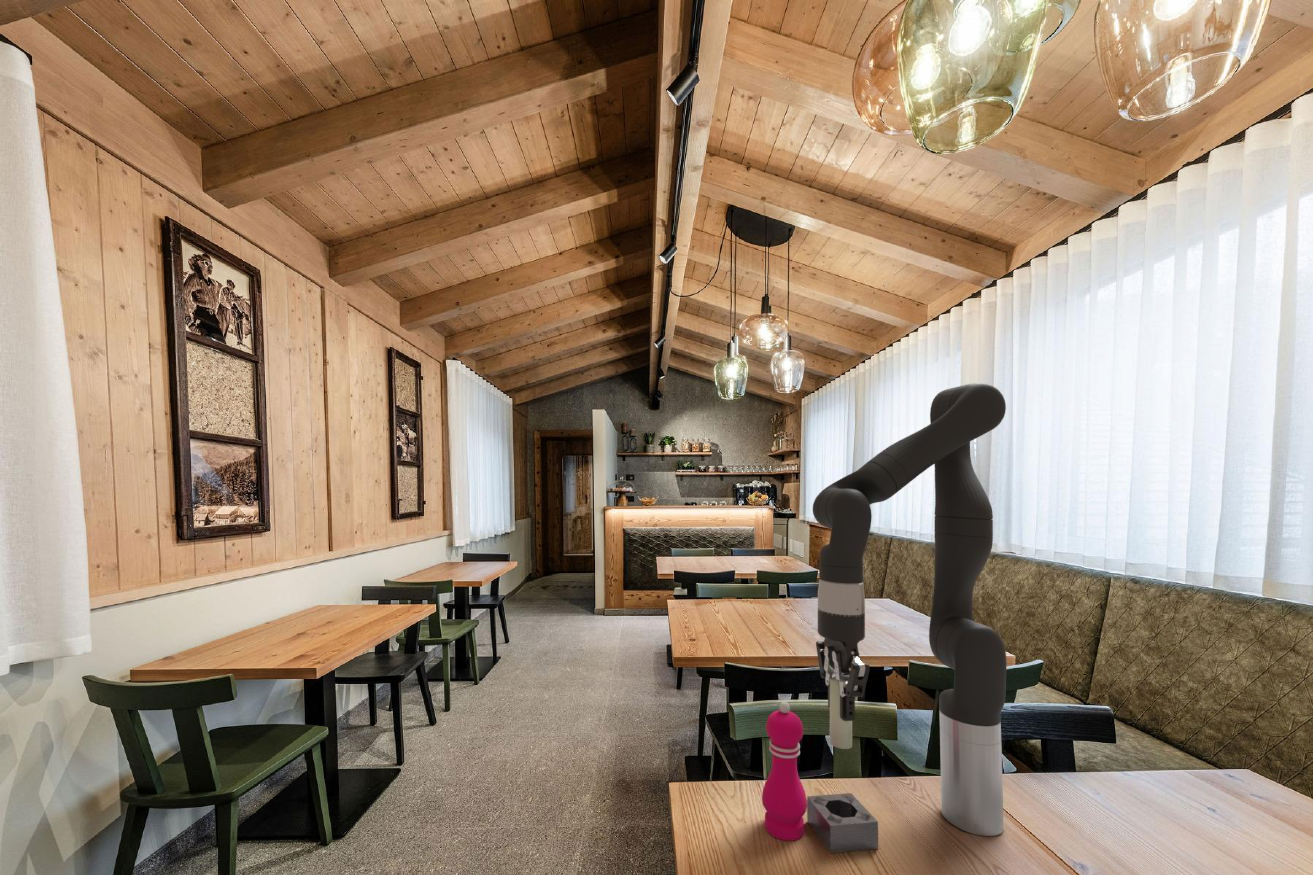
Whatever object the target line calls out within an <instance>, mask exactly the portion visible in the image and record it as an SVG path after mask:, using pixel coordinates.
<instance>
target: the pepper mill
mask: <svg viewBox="0 0 1313 875" xmlns="http://www.w3.org/2000/svg"><path fill="white" fill-rule="evenodd" d="M778 706H779V707H778V710H775V711H773V712H771V713H770V714H769V716H768V717H767V719H766V720H767V721H766V724H765V730H766V733H767V735H768V737H769V738H770V739H769V742H768V743H769V747H768V749H769V752H770V753H771V757H772V758H771V760H772V762H771V763H772V764H771V768H770V772H769V774H768V777H767V779H766V781H765V783H764V786H763V789H762V794H761V802H762V805H763V808H764V810H765V813H764V827H765V830H766V831H767V833H769V835H771V836H772V837H774V838H776V839H778V840H782V841H788V842H789V841H796V840H799V839H800V838H802V837H803V836H804V833H805V820H804V815H805V814H806V813H807V795H806V791H805V788H804V786H803V784H802V781H801V779H800V776H799V774H798V773H799V772H798V765H797V764H798V757H799V756H800V754H801V751H800V750H801V749H800V748H801V745H800V741H801V740H802V739H803V735H804V726H803V722H802V720H801V719H800V717H799V716H798V715H797V714H795V713H794V712H792V711H791V706H790V704H789V703H788V702H786V701H782V702H781V703H780V704H779V705H778Z"/></svg>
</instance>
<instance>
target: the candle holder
mask: <svg viewBox="0 0 1313 875" xmlns="http://www.w3.org/2000/svg"><path fill="white" fill-rule="evenodd" d="M806 799H807V810H806V813H807V815H806V819H807V820H806V822H807V821H808V822H807V823H808V825H809V824H810V825H809V826H810V827H811V829H812V828H813V829H814V830H813V829H812V830H813V832H814V833H815V834H816V836H817V835H818V836H819V837H818V836H817V837H818V838H819V840H820V839H821V840H820V841H821V842H822V844H823V845H824V846H825V848H826V849H827V851H828V853H830V854H839V853H849V852H859V851H868V850H869V851H871V850H878V849H879V821H878V820H877V819H876V818H875V817H874V816H873V814H871V812H870V811H869V810H867V808H866V807H865V806H864V805H863V804H862V803H861V802H860V800H858V799H857V798H856V797H855V795H854V794H853V793H852V792H849V793H848V792H847V793H845V792H844V793H834V794H822V795H809V796H808V795H806Z"/></svg>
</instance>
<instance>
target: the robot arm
mask: <svg viewBox="0 0 1313 875" xmlns="http://www.w3.org/2000/svg"><path fill="white" fill-rule="evenodd" d="M1006 410H1007V406H1006V400H1005V398H1004V395H1003V394H1002V392H1001V391H1000V390H999V389H998V388H997V387H995V386H994V385H992V384H989V383H986V382H985V383H984V382H975V383H967V384H963V385H960V386H955V387H951V388H947V389H944V390H942V391H940V392H938V393H937V394H936V395H935V397H934V398H933V399H932V402H931V405H930V411H929V419H930V423H929V424H928V425H927V426H924V427H923V428H921V429H920V430H917V431H915V432H913V433H912V434H909V435H908V436H905V437H904V438H902V439H900V440H898V441H895V442H894V443H892V444H890V445H889V446H888V447H886V448H885V449H883V450H881V451H880V452H879V453H877V454H876V455H874V456H873V457H872V458H871V459H870V460H868V461H867V462H866V463H864V465H862V466H861V467H860V468H859V469H857V470H855V471H853V472H851V473H850V474H848V475H845V476H844V477H842V478H840V479H838V480H836V481H834V482H833V483H831V484H830V485H828V486H826V487H825V488H824V489H822V490H821V491H820V492H819V493H818V494H817V495H816V497H815V498H814V501H813V504H812V514H813V517H814V519H815V520H816V521H817V523H818V524H820V525H821V526H822V527H825V528H827V529H831V531H830V532H831V533H830V536H829V537H830V538H829V543H827V544H825V545H824V546H823V545H822V547H821V549H820V550H819V559H818V560H819V561H818V562H819V563H818V564H819V566H818V568H819V573H818V575H819V576H818V577H819V578H818V579H819V580H818V588H817V634H818V635H819V636H820V637H821V638H824V639H823V640H822V641H820V640H818V641H816V642H815V648H816V653H817V654H816V655H817V661H818V666H819V672H820V677H821V678H822V679H825V685H826V687H827V708H828V709H829V710H830V678H832V677H836V679H837V680H838V681H839V686H840V694H841V696H840V718H841V719H842V720H843V721H852V722H853V721H854V720H855V718H856V698H860V697H861V698H862V697H864V695H865V690H866V686H867V682H868V678H869V673H870V670H871V666H870V665H869V663H868V662H862V661H861V660H860V652H859V647H858V644H859V642H862V641H863V640H865V638H866V596H865V588H864V560H863V559H864V553H865V551H866V547H867V544H868V540H869V536H870V530H871V524H872V515H873V514H872V507H871V505H873V504H875V503H882V502H885V501H887V500H889V499H890V498H892V497H893V496H894V495H896V494H897V493H898V492H899V491H901V490H902V489H903V488H905V487H906V486H907V485H908V484H910V483H911V482H913V480H915V479H916V478H917V477H918V476H920V475H921V474H922V473H924V472H925V471H927V470H928V469H929V468H931V467H932V466H933V465H934V494H935V495H934V497H935V498H934V534H933V535H934V569H933V570H934V572H933V573H934V574H933V577H934V578H933V580H934V581H933V594H932V595H933V597H932V604H931V612H930V618H929V619H930V620H929V627H928V628H929V630H928V631H929V632H928V640H929V646H930V650H931V652H932V655H933V656H934V657H935V659H936V660H937V661H938V662H940V663H941V664H942V665H944V666H946V667H948V668H950V669H952V670H953V671H954V673H953V674H954V680H953V688H949V689H945V690H943V691H941V692H940V694H939V698H938V701H939V702H938V704H939V705H938V706H939V708H938V709H939V740H940V741H939V746H940V749H939V751H940V755H939V756H940V798H941V799H940V802H941V803H940V804H941V805H940V806H941V808H940V809H941V815H942V816H943V818H945V819H946V821H948V822H949V823H950V824H951V825H953V826H954V827H956V828H958V829H960V830H962V831H965V832H967V833H970V834H973V835H978V836H985V837H986V836H987V837H994V836H998V835H1001V834H1002V833H1003V831H1004V828H1005V827H1004V789H1003V788H1004V786H1003V785H1004V784H1003V757H1002V754H1003V753H1002V749H1003V748H1002V728H1001V724H1002V723H1001V713H1002V710H1003V709H1004V706H1005V703H1006V696H1007V694H1006V693H1007V689H1006V688H1007V652H1006V647H1005V644H1004V641H1003V639H1002V637H1001V636H1000V635H999V633H998V632H997V631H996V630H995V629H993V628H991V627H989V626H987V625H984V624H982V623H979V622H976V621H974V617H973V595H974V589H975V585H976V582H977V581H978V580H977V579H978V578H979V576H980V574H981V572H982V571H983V569H984V567H985V566H986V564H987V561H988V559H989V558H990V555H991V552H992V550H993V549H992V548H993V543H994V542H993V539H994V520H993V518H994V515H993V508H992V505H991V501H990V500H989V497H988V495H987V493H986V491H985V489H984V487H983V486H982V484H981V482H980V480H979V478H978V476H977V475H976V472H975V470H974V468H973V463H972V457H971V456H972V455H971V442H972V441H974V440H976V439H978V438H980V437H982V436H983V435H985V434H987V433H989V432H991V431H993V430H995V428H997V427H998V426H999V425H1000V424H1001V422H1002V421H1003V419H1004V417H1005V415H1006ZM845 674H846V675H845ZM846 681H848V683H847V688H846V684H845V682H846Z"/></svg>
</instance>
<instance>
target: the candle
mask: <svg viewBox="0 0 1313 875" xmlns="http://www.w3.org/2000/svg"><path fill="white" fill-rule="evenodd" d="M847 683H848V681H846V682H845V684H846V688H847ZM840 696H841V694H840V686H839V681H838V680H837V679H836V677H832V678H830V709H829V744H830V745H831V746H833V747H835V748H837V749H841V750H849V749H851V748H853V721H843V720H842V719H841V718H840Z"/></svg>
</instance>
